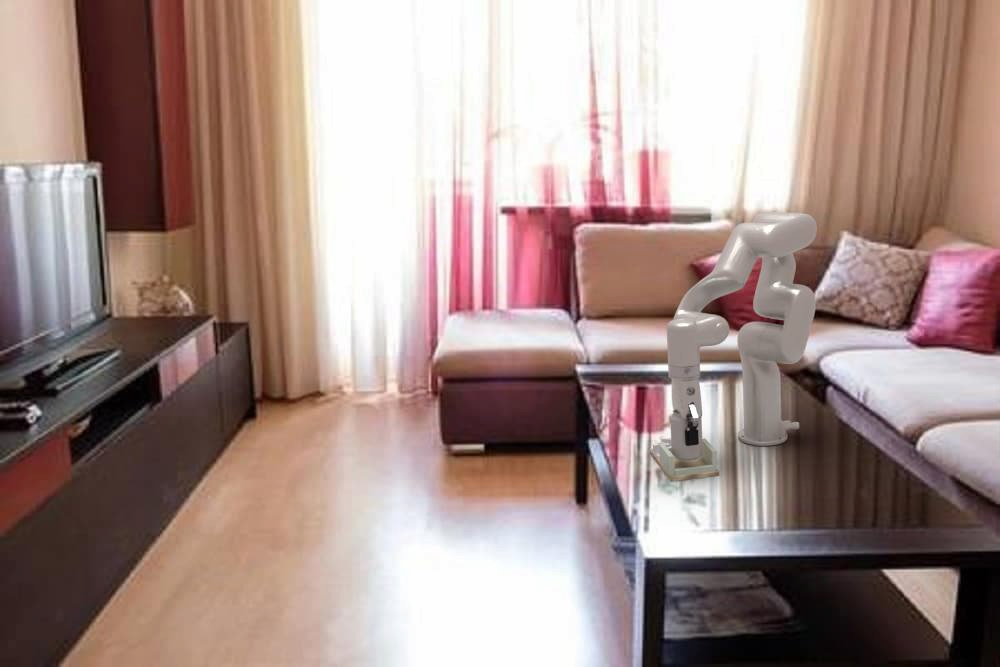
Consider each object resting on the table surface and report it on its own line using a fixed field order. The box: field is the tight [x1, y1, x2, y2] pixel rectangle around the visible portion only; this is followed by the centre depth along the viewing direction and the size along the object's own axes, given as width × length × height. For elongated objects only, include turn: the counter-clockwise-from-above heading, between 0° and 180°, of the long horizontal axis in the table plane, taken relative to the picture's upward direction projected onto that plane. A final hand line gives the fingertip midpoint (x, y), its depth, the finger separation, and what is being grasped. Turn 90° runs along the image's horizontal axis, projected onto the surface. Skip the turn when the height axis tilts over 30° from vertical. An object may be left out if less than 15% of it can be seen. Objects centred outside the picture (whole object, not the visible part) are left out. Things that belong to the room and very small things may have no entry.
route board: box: [649, 448, 720, 482], centre depth 224 cm, size 12×20×1 cm, turn 5°
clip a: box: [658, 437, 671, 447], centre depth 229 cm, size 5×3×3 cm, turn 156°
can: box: [669, 409, 703, 461], centre depth 217 cm, size 8×8×12 cm
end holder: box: [659, 438, 719, 476], centre depth 218 cm, size 12×10×5 cm
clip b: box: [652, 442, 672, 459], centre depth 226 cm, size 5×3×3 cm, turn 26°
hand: (686, 438), depth 218 cm, fingers closed on can, 7 cm apart
